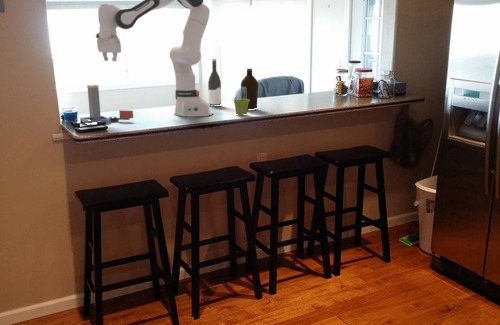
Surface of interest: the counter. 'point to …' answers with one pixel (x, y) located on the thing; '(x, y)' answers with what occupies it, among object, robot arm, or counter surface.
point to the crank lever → (124, 115)
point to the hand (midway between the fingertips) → (110, 61)
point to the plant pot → (241, 106)
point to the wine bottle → (214, 86)
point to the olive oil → (249, 89)
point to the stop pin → (94, 102)
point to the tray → (107, 120)
